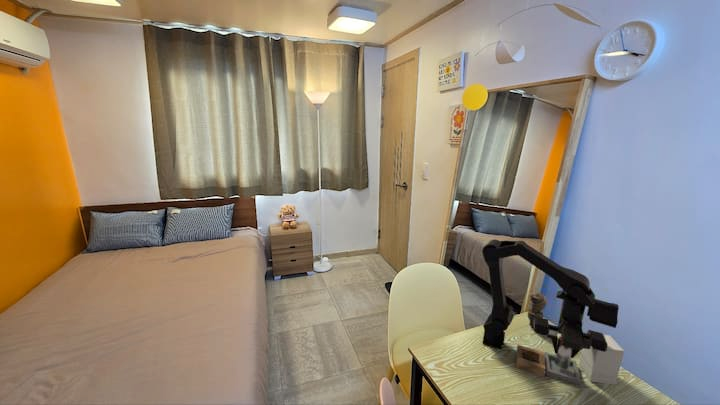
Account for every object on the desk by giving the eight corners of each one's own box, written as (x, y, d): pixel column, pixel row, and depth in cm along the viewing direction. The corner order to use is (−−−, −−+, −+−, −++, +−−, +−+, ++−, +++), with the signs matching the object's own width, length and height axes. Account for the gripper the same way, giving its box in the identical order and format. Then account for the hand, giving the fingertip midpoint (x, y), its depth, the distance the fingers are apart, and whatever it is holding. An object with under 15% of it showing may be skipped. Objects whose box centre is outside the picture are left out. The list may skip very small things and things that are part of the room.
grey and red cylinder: (554, 366, 94) (559, 342, 92) (553, 357, 98) (558, 335, 95) (569, 370, 93) (574, 347, 90) (568, 361, 96) (572, 339, 94)
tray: (545, 374, 94) (546, 370, 94) (543, 356, 102) (544, 351, 101) (579, 385, 90) (580, 381, 89) (575, 365, 98) (576, 361, 97)
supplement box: (616, 385, 90) (625, 351, 87) (589, 381, 91) (597, 348, 88) (602, 366, 97) (610, 334, 94) (577, 363, 98) (584, 331, 95)
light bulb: (536, 322, 119) (541, 290, 115) (545, 332, 113) (551, 298, 110) (522, 323, 119) (527, 290, 115) (531, 332, 113) (536, 298, 109)
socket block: (516, 367, 97) (517, 359, 96) (516, 351, 104) (517, 344, 103) (544, 376, 93) (545, 368, 93) (542, 359, 100) (543, 352, 99)
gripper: (538, 319, 88) (531, 361, 92) (617, 339, 79) (605, 385, 83) (536, 300, 97) (530, 339, 101) (607, 316, 89) (597, 358, 93)
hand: (563, 354), depth 94 cm, fingers closed on grey and red cylinder, 4 cm apart
